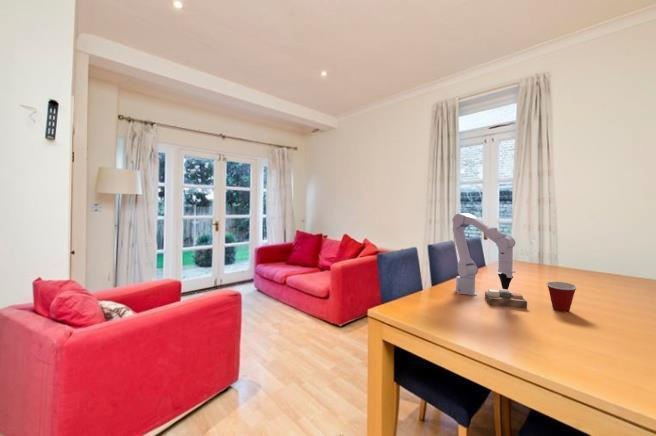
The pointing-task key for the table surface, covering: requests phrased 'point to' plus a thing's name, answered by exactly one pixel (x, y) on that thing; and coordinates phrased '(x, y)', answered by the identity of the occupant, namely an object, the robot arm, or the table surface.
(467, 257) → the robot arm
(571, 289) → the plastic cup
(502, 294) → the charcoal key
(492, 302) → the key box
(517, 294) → the terracotta key
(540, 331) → the table surface
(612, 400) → the table surface
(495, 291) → the ivory key
